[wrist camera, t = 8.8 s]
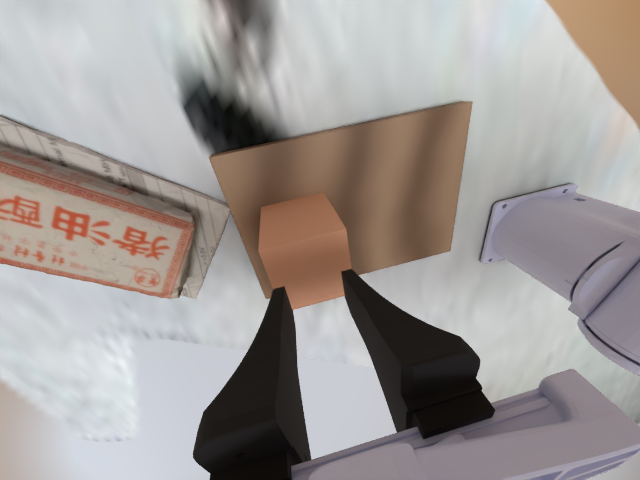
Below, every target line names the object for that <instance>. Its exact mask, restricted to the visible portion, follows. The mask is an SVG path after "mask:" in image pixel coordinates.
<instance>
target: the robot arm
mask: <svg viewBox="0 0 640 480" xmlns="http://www.w3.org/2000/svg"><path fill="white" fill-rule="evenodd" d="M577 188H578V185H577V184H574V183H571V184H567V185H563V186H559V187H555V188H551V189H547V190H543V191H539V192H535V193H531V194H527V195H523V196H519V197H515V198H511V199H507V200H503V201H499V202H497V203H495V204H494V206H493V209H492V214H491V218H490V222H489V226H488V230H487V235H486V239H485V243H484V247H483V252H482V256H481V260H480V262H481V263H483V264H488V263H491V262H495V261H499V260H502V259H506V260H508V261H509V262H511V263H512V264H514V265H515V266H517V267H518V268H520V269H521V270H523V271H525V272H526V273H528V274H529V275H531V276H532V277H534V278H535V279H537V280H538V281H540V282H541V283H543V284H544V285H546V286H547V287H549V288H550V289H552V290H553V291H555V292H556V293H558V294H559V295H561V296H562V297H564V298H565V299H567V300H568V301H570V302H571V305H570V307H569V308H568V310H569V311H571V312H572V313H574V314H575V315H577V316H578V317H580V318H579V319H578V327H579V329H580V331H581V332H582V333H583V335H584V336H585V338H586V339H587V340H588V342H589V343H590V344H591V345H592V346H593V347H594V348H595V349H597V350H598V351H599V352H600V353H601V354H603V355H604V356H605V357H607V358H608V359H610V360H611V361H613V362H614V363H616V364H618V365H619V366H621V367H623V368H624V369H626V370H628V371H630V372H632V373H634V374H636V375H638V376H640V212H637V211H634V210H630V209H627V208H624V207H620V206H617V205H614V204H610V203H607V202H603V201H600V200H597V199H593V198H590V197H587V196H583V195H580V194H577V193H575V192H576V190H577ZM341 275H342V281H343V288H344V294H345V299H346V301H347V304H348V307H349V310H350V313H351V315H352V317H353V319H354V321H355V324H356V326H357V328H358V330H359V332H360V334H361V336H362V338H363V340H364V342H365V345H366V347H367V349H368V351H369V354H370V356H371V359H372V362H373V365H374V367H375V370H376V373H377V376H378V378H379V381H380V384H381V387H382V390H383V392H384V395H385V398H386V401H387V404H388V407H389V410H390V413H391V416H392V419H393V422H394V425H395V428H396V431H397V433H395V434H392V435H389V436H385V437H382V438H380V439H376V440H373V441H370V442H366V443H363V444H360V445H357V446H354V447H351V448H348V449H345V450H341V451H338V452H335V453H332V454H329V455H326V456H322V457H319V458H316V459H313V460H311V455H310V449H309V443H308V437H307V431H306V425H305V419H304V412H303V405H302V400H301V392H300V385H299V378H298V368H297V349H296V329H295V322H294V316H293V310H292V307H291V304H290V301H289V298H288V295H287V292H286V289H285V286H283V287H279V288H275V289H273V291H272V295H271V298H270V302H269V305H268V308H267V310H266V313H265V316H264V318H263V321H262V323H261V326H260V328H259V330H258V332H257V335H256V337H255V339H254V341H253V343H252V344H251V346H250V348H249V350H248V352H247V353H246V355H245V357H244V358H243V360H242V362H241V363H240V365H239V366H238V368H237V369H236V371H235V372H234V374H233V375H232V377H231V378H230V379H229V381H228V382H227V383H226V385H225V386H224V388H223V389H222V390H221V391H220V393H219V394H218V395H217V396H216V398H215V399H214V400H213V401H212V403H211V404H210V405H209V406H208V407H207V409H206V410H205V411H204V412H203V416H202V419H201V422H200V425H199V429H198V432H197V437H196V442H195V446H194V451H193V458H194V459H195V461H196V462H197V463H198V464H199V465H200V466H202V467H203V468H204V469H205V470H207V471H208V472H209V473H210V474H211V475H210V480H585V479H588V478H591V477H593V476H596V475H599V474H601V473H604V472H607V471H610V470H612V469H615V468H618V467H619V466H621V465H622V464H624V463H625V462H627V461H628V460H630V459H631V458H633V457H634V456H636V455H637V454H639V453H640V426H639V425H637V424H636V423H635V422H634V421H633V420H632V419H631V418H629V417H628V416H627V415H626V414H625V413H624V412H623V411H621V410H620V409H619V408H618V407H617V406H616V405H615V404H613V403H612V402H611V401H610V400H609V399H608V398H607V397H605V396H604V395H603V394H602V393H601V392H600V391H598V390H597V389H596V388H595V387H594V386H593V385H592V384H590V383H589V382H588V381H587V380H586V379H585V378H584V377H582V376H581V375H580V374H579V373H578V372H577V371H576V370H574V369H569V370H566V371H563V372H560V373H556V374H553V375H550V376H548V377H546V378H544V379H543V380H542V381H541V382H540V384H539V388H537V389H534V390H531V391H528V392H525V393H521V394H518V395H515V396H512V397H509V398H506V399H502V400H499V401H496V402H493V403H490V402H489V401H488V399H487V398H486V397H485V395H484V394H483V392H482V391H481V390H482V386H481V385H480V383H479V382H478V381H477V379H476V376H477V373H478V370H479V367H480V359H479V357H478V355H477V354H476V353H475V352H474V351H473V349H472V348H471V347H470V346H469V345H468V344H467V343H466V342H465V341H464V340H463V339H462V338H461V337H460V336H457V335H454V334H452V333H449V332H446V331H444V330H441V329H439V328H436V327H434V326H432V325H429V324H427V323H425V322H423V321H421V320H419V319H417V318H415V317H413V316H412V315H410V314H408V313H406V312H405V311H403V310H401V309H400V308H398V307H397V306H395V305H393V304H392V303H391V302H389V301H388V300H386V299H385V298H384V297H382V296H381V295H380V294H378V293H377V292H376V291H375V290H374V289H372V288H371V287H370V286H369V285H368V284H367V283H366V282H365V281H363V280H362V279H361V278H360V277H359V276H358V275H357V274H356V273H355V271H354V270H352V269H348V270H345V271H341Z"/></svg>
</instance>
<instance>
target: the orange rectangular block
mask: <svg viewBox="0 0 640 480" xmlns="http://www.w3.org/2000/svg"><path fill="white" fill-rule="evenodd" d="M258 252H259V254H260V257H261V259H262V262H263V265H264V267H265V270H266V273H267V275H268V278H269V281H270V283H271V286H272V288H273V289H275V288H279V287H283V286H285V289H286V292H287V295H288V298H289V301H290V304H291V307H292V310H294V309H298V308H301V307H305V306H309V305H312V304H316V303H320V302H323V301H327V300H331V299H334V298H338V297H342V296H345V294H344V288H343V281H342V275H341V271H345V270H348V269H352V268H351V261H350V253H349V246H348V238H347V231H346V228H345V226H344V224H343V223H342V221H341V220H340V218H339V216H338V215H337V213H336V211H335V210H334V208H333V207H332V205H331V203H330V202H329V200H328V198H327V197H326V195H325V194H324V192H323V193H318V194H314V195H310V196H306V197H301V198H297V199H293V200H289V201H285V202H280V203H276V204H272V205H268V206H264V207H261V216H260V232H259V247H258Z"/></svg>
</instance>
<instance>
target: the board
mask: <svg viewBox="0 0 640 480" xmlns="http://www.w3.org/2000/svg"><path fill="white" fill-rule="evenodd" d="M471 108H472V102H457V103H452V104H448V105H443V106H438V107H434V108H429V109H424V110H420V111H415V112H410V113H405V114H401V115H396V116H391V117H387V118H382V119H377V120H373V121H368V122H363V123H358V124H354V125H349V126H344V127H340V128H335V129H330V130H326V131H321V132H316V133H311V134H307V135H302V136H297V137H293V138H288V139H283V140H278V141H274V142H269V143H264V144H260V145H255V146H250V147H246V148H241V149H236V150H231V151H227V152H222V153H217V154H213V155H211V156H210V157H209V159H210V162H211V164H212V167H213V169H214V172H215V174H216V177H217V179H218V182H219V184H220V186H221V189H222V191H223V194H224V196H225V199H226V201H227V204H228V206H229V209H230V211H231V214H232V216H233V219H234V221H235V224H236V226H237V228H238V231H239V233H240V236H241V238H242V241H243V243H244V246H245V248H246V251H247V253H248V256H249V258H250V261H251V263H252V265H253V268H254V270H255V273H256V275H257V278H258V280H259V283H260V285H261V288H262V290H263V293H264V295H265V298H266V299H269V298H271V295H272V291H273V288H272V286H271V283H270V281H269V278H268V275H267V273H266V270H265V267H264V265H263V262H262V259H261V257H260V254H259V252H258V247H259V232H260V216H261V207H264V206H268V205H272V204H276V203H280V202H285V201H289V200H293V199H297V198H301V197H306V196H310V195H314V194H318V193H323V192H324V194H325V195H326V197H327V198H328V200H329V202H330V203H331V205H332V207H333V208H334V210H335V211H336V213H337V215H338V216H339V218H340V220H341V221H342V223H343V224H344V226H345V228H346V231H347V238H348V246H349V253H350V261H351V268H352V270H354V271H355V273H356V274H357V275H360V274H364V273H368V272H372V271H376V270H379V269H383V268H387V267H391V266H395V265H399V264H402V263H406V262H410V261H414V260H418V259H422V258H425V257H429V256H433V255H437V254H441V253H444V252H448V251H450V250H451V243H452V237H453V230H454V223H455V216H456V210H457V203H458V196H459V189H460V183H461V176H462V169H463V162H464V156H465V149H466V142H467V135H468V129H469V122H470V115H471Z"/></svg>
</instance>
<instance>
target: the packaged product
mask: <svg viewBox="0 0 640 480" xmlns="http://www.w3.org/2000/svg"><path fill="white" fill-rule="evenodd" d="M229 212H230V209H229V206H228V204H226V203H224V202H221V201H219V200H217V199H214V198H212V197H209V196H207V195H204V194H201V193H199V192H196V191H193V190H191V189H188V188H185V187H183V186H180V185H177V184H174V183H171V182H168V181H165V180H162V179H160V178H157V177H155V176H152V175H150V174H147V173H145V172H143V171H140V170H138V169H135V168H133V167H130V166H128V165H125V164H123V163H120V162H118V161H116V160H113V159H110V158H107V157H105V156H103V155H101V154H98V153H96V152H94V151H92V150H89V149H87V148H85V147H83V146H81V145H78V144H75V143H72V142H68V141H67V140H65V139H62V138H59V137H55V136H52V135H49V134H46V133H43V132H39V131H36V130H33V129H30V128H28V127H25V126H23V125H20V124H18V123H16V122H13V121H11V120H8V119H6V118H3V117H1V116H0V263H1V264H8V265H11V266H16V267H20V268H25V269H30V270H36V271H42V272H45V273H47V274H52V275H58V276H64V277H68V278H72V279H77V280H82V281H89V282H94V283H99V284H102V285H105V286H111V287H116V288H120V289H125V290H129V291H137V292H140V293H143V294H147V295H151V296H157V297H160V298H168V299H174V298H179V296H180V295H182V296H187V297H190V298H196V297H197V295H198V293H199V291H200V288H201V286H202V284H203V282H204V278H205V275H206V272H207V269H208V267H209V265H210V262H211V260H212V258H213V256H214V254H215V251H216V249H217V246H218V244H219V241H220V239H221V236H222V234H223V231H224V229H225V226H226V222H227V219H228V215H229Z"/></svg>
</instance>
